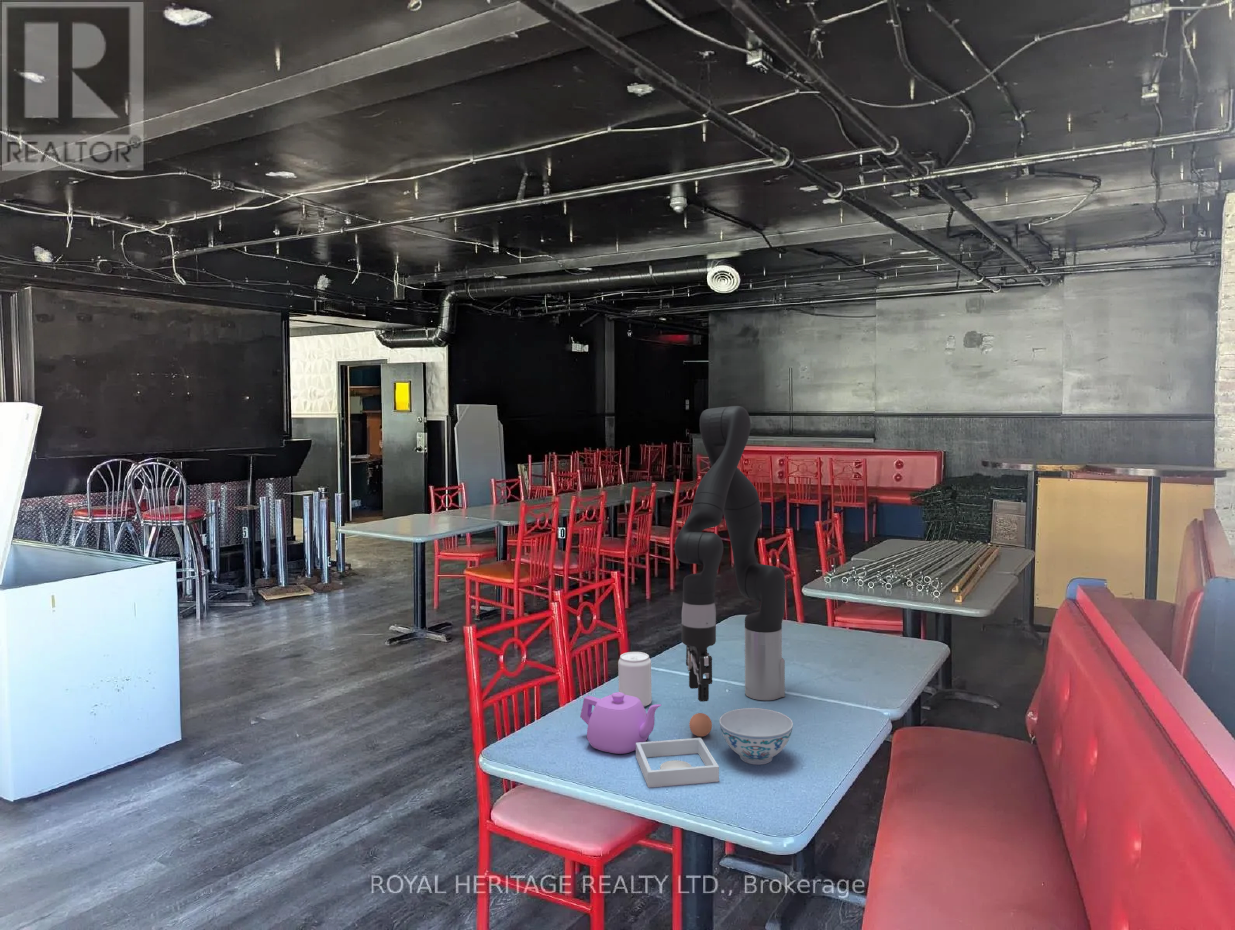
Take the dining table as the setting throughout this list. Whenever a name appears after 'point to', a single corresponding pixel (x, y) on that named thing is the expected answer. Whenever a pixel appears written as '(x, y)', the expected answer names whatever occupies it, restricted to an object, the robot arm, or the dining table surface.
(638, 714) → the teapot
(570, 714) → the dining table surface
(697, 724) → the ball
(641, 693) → the beverage can
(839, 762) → the dining table surface
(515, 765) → the dining table surface
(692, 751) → the grey square frame
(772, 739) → the chinaware
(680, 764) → the disc
